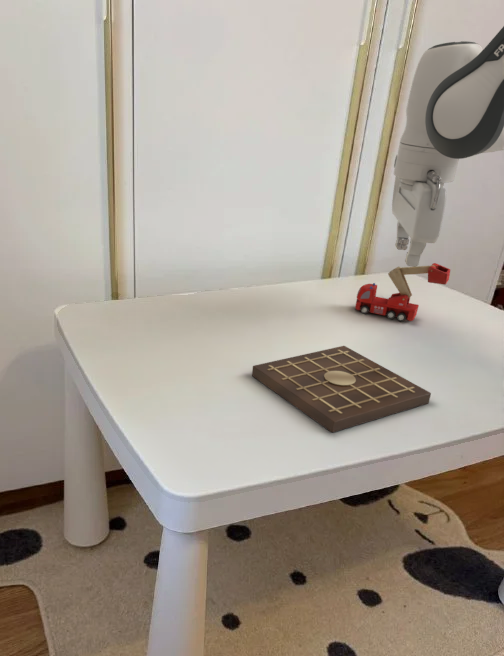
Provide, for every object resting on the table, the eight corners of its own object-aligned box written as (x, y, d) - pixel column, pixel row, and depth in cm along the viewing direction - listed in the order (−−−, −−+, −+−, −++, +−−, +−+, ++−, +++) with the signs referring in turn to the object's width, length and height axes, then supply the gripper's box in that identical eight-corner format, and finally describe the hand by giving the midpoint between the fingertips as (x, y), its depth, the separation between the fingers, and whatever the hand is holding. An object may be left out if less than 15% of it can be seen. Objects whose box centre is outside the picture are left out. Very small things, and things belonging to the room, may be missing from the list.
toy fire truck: (357, 305, 110) (367, 250, 105) (438, 322, 105) (452, 265, 100) (352, 311, 107) (362, 255, 103) (435, 328, 102) (449, 270, 98)
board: (428, 403, 79) (431, 391, 78) (332, 433, 72) (334, 420, 71) (342, 354, 91) (344, 344, 90) (251, 375, 84) (252, 364, 83)
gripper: (465, 179, 85) (440, 278, 92) (432, 158, 103) (413, 242, 110) (417, 175, 86) (396, 274, 92) (393, 155, 104) (377, 239, 110)
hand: (405, 256), depth 101 cm, fingers open, 8 cm apart
